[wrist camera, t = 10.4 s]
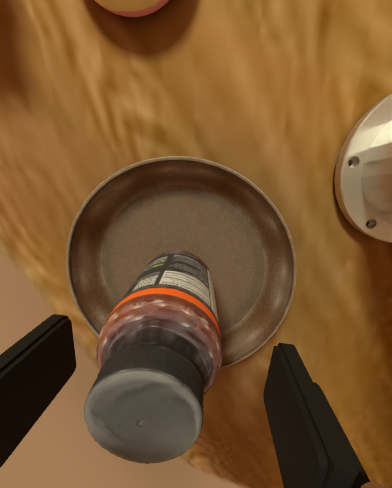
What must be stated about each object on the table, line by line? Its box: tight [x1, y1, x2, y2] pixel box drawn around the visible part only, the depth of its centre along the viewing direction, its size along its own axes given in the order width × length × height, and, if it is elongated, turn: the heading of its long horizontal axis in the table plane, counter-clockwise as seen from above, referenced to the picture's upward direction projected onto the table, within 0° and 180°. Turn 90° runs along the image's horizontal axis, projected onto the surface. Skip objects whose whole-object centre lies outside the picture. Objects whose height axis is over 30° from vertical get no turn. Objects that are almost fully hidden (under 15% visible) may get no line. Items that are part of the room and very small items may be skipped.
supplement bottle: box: [84, 250, 222, 464], centre depth 12 cm, size 6×6×11 cm
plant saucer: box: [66, 156, 296, 369], centre depth 19 cm, size 21×21×3 cm
